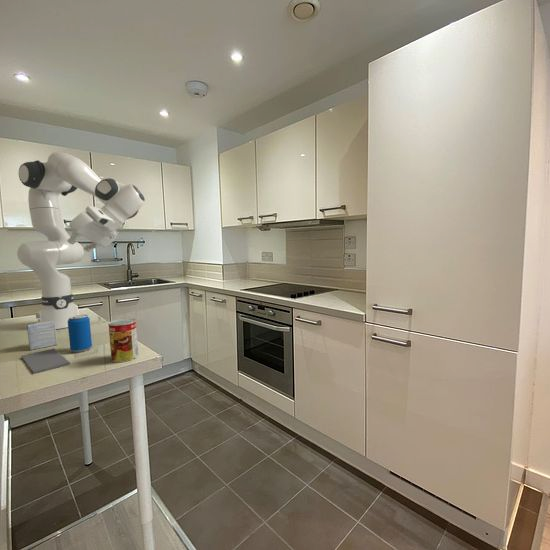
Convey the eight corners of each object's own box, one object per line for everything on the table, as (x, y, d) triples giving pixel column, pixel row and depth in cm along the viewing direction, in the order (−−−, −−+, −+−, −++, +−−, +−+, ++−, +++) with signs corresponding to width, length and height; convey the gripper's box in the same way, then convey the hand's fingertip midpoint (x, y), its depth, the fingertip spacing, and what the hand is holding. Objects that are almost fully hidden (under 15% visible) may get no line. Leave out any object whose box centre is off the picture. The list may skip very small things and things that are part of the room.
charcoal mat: (21, 357, 103) (21, 355, 103) (53, 350, 110) (53, 348, 110) (33, 373, 90) (33, 371, 90) (69, 364, 96) (69, 362, 96)
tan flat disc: (70, 350, 109) (70, 350, 109) (87, 346, 113) (87, 346, 113) (75, 353, 105) (75, 353, 105) (92, 349, 109) (92, 349, 109)
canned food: (113, 355, 103) (110, 320, 102) (139, 352, 106) (136, 317, 104) (109, 364, 96) (106, 326, 94) (137, 360, 98) (134, 323, 97)
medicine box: (55, 342, 118) (52, 320, 117) (57, 345, 115) (55, 322, 114) (29, 348, 113) (26, 324, 112) (30, 350, 110) (28, 327, 109)
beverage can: (77, 347, 112) (73, 314, 111) (95, 346, 112) (92, 313, 111) (66, 353, 106) (63, 319, 104) (86, 352, 106) (83, 318, 105)
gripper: (115, 225, 125) (89, 249, 123) (85, 203, 105) (53, 231, 103) (126, 235, 124) (99, 259, 122) (97, 215, 104) (65, 244, 102)
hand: (78, 246), depth 113 cm, fingers open, 8 cm apart
